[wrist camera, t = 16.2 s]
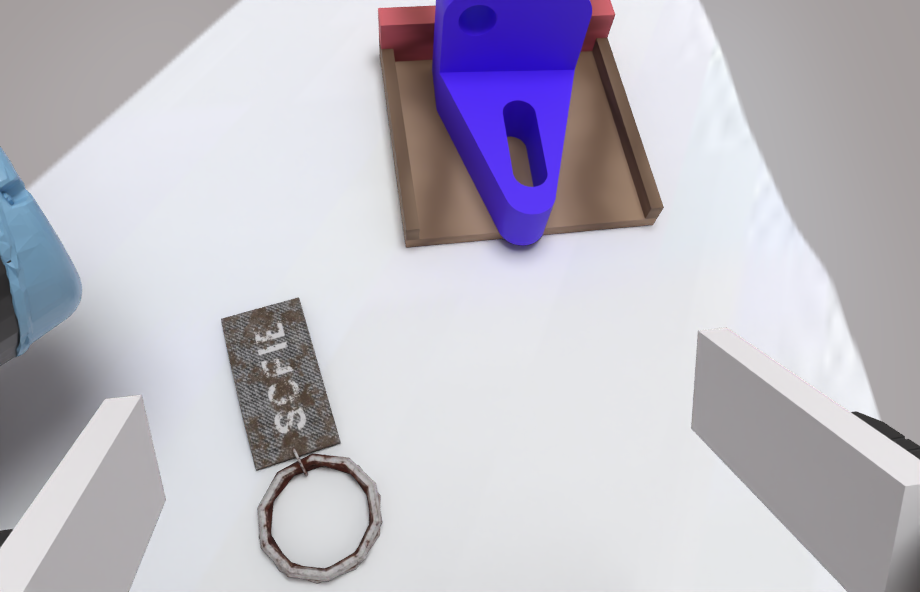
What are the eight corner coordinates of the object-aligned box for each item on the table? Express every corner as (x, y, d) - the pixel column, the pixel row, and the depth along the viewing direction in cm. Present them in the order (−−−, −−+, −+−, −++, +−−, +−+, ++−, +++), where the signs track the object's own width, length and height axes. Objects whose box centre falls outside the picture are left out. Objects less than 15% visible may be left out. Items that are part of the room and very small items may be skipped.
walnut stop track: (405, 247, 52) (406, 211, 48) (379, 54, 61) (378, 8, 56) (652, 224, 55) (675, 188, 50) (594, 42, 63) (609, -2, 59)
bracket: (431, 69, 59) (439, -53, 48) (554, 67, 60) (587, -53, 50) (452, 249, 51) (466, 150, 41) (592, 241, 53) (641, 144, 42)
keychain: (320, 296, 50) (317, 284, 48) (398, 557, 43) (398, 553, 41) (213, 326, 49) (205, 315, 47) (275, 602, 41) (269, 601, 39)
